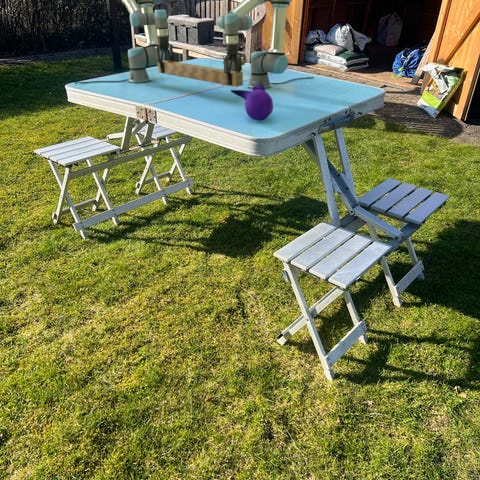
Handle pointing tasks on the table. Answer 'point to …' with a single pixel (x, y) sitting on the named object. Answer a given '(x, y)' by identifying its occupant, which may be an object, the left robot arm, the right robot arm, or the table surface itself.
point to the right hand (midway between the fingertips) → (233, 84)
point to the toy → (256, 102)
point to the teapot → (241, 61)
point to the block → (201, 73)
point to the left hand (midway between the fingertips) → (166, 71)
